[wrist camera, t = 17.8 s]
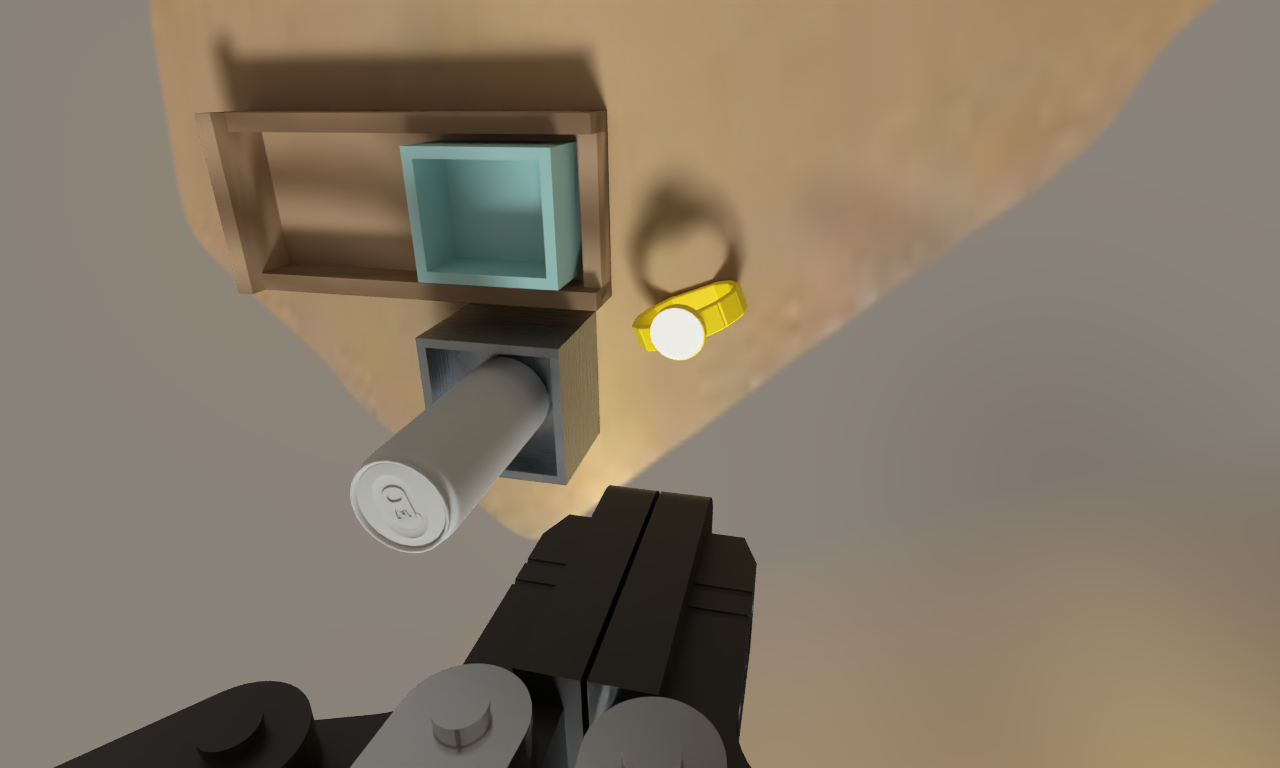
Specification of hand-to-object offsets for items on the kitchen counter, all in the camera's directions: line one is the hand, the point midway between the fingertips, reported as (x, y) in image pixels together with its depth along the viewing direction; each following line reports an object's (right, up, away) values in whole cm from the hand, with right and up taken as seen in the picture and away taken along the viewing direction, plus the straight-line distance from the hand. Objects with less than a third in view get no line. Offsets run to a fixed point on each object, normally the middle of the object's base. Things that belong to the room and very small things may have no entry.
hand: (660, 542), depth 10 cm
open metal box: (-7, +3, +33) cm, 34 cm away
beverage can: (-7, +2, +29) cm, 30 cm away
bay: (-13, +13, +30) cm, 35 cm away
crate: (-7, +12, +28) cm, 32 cm away
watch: (+3, +7, +29) cm, 30 cm away
